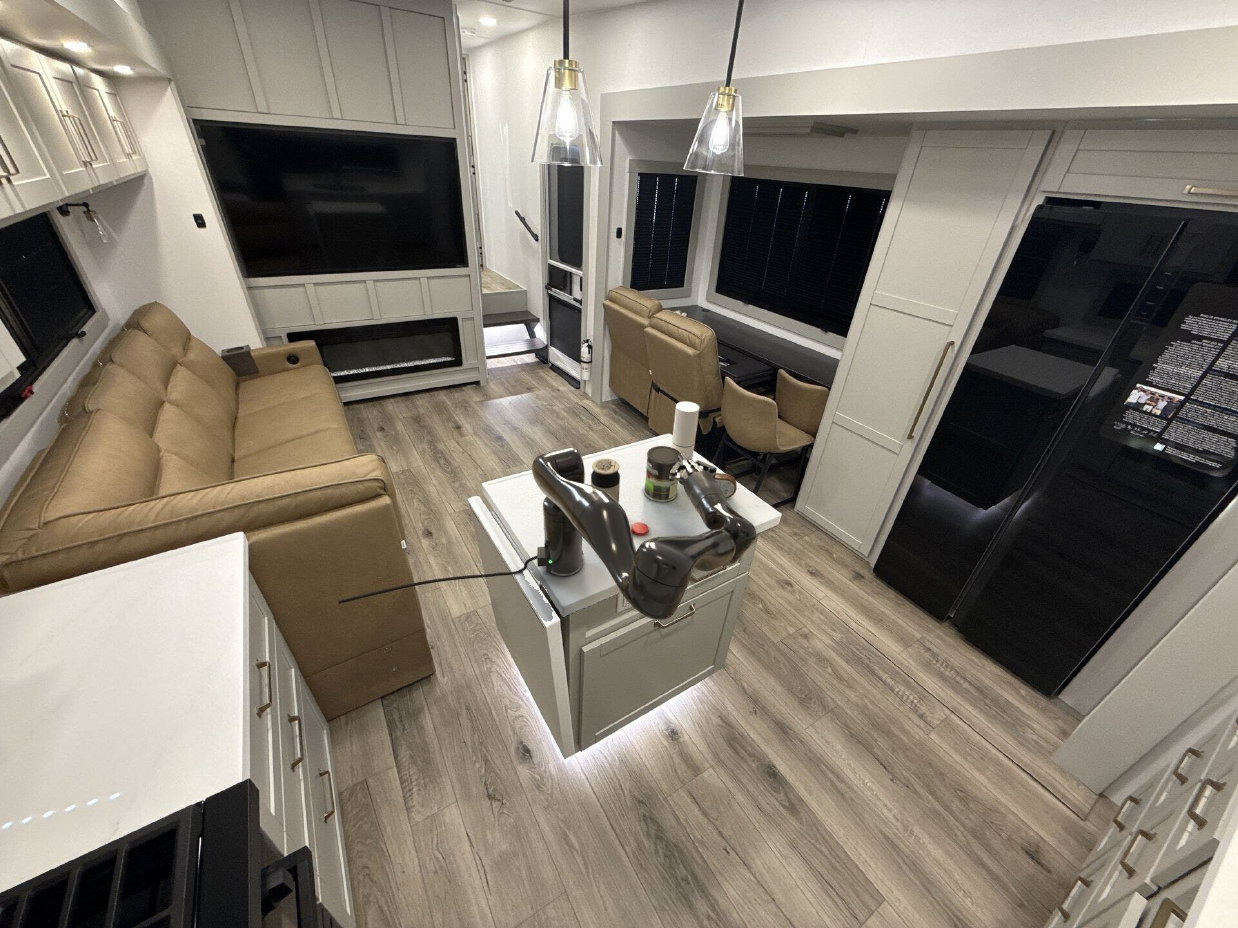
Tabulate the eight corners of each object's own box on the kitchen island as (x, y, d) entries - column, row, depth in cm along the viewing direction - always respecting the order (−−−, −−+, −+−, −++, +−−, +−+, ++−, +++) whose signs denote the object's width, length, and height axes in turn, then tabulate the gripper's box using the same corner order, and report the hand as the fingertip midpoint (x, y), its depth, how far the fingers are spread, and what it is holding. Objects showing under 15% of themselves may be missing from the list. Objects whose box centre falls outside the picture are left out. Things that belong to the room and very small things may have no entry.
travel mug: (587, 523, 138) (587, 470, 128) (595, 506, 144) (595, 455, 135) (614, 528, 136) (616, 475, 127) (621, 511, 143) (623, 460, 133)
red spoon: (598, 548, 129) (598, 545, 128) (591, 538, 133) (591, 535, 132) (651, 532, 135) (651, 529, 135) (643, 523, 139) (643, 520, 138)
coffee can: (654, 505, 146) (657, 466, 139) (638, 487, 154) (641, 449, 146) (683, 497, 150) (688, 459, 143) (666, 480, 158) (670, 443, 150)
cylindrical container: (666, 477, 159) (673, 409, 146) (671, 466, 165) (678, 400, 151) (688, 482, 157) (697, 413, 144) (691, 470, 163) (701, 403, 150)
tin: (733, 495, 152) (738, 473, 147) (734, 501, 149) (739, 479, 145) (686, 491, 153) (689, 469, 148) (686, 497, 150) (689, 474, 146)
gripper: (676, 509, 115) (657, 469, 129) (728, 504, 118) (703, 465, 132) (679, 483, 111) (659, 445, 125) (733, 478, 114) (707, 442, 128)
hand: (682, 456), depth 128 cm, fingers closed
